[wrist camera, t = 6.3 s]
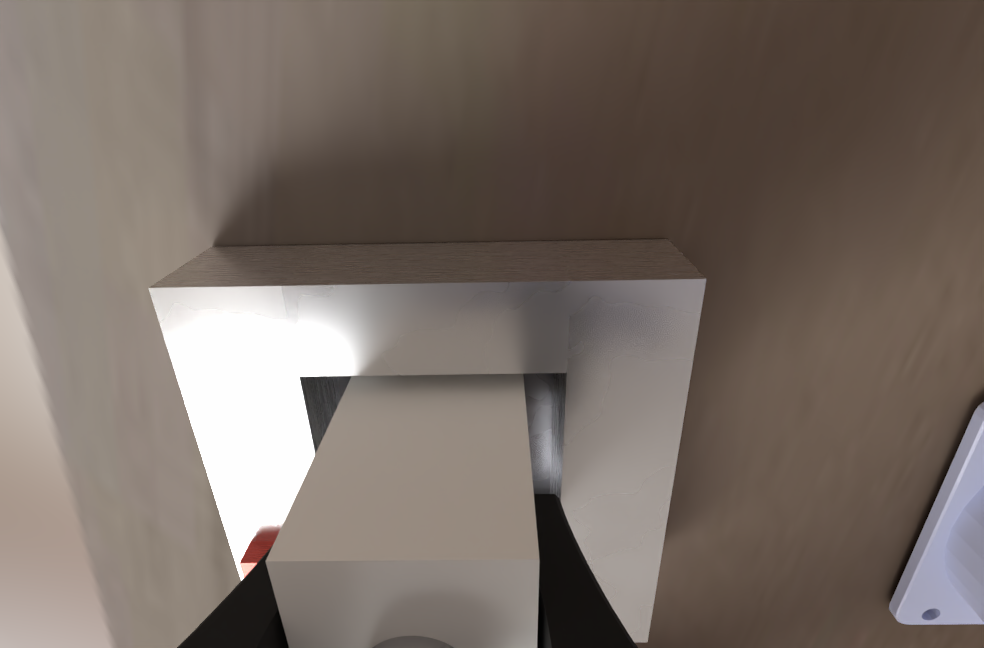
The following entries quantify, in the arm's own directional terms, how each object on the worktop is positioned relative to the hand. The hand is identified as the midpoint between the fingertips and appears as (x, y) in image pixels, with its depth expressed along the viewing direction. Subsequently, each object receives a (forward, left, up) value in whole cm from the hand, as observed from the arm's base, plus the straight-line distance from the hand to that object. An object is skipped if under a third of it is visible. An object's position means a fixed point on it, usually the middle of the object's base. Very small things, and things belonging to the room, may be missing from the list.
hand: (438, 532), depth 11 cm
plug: (0, 0, -2) cm, 2 cm away
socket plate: (0, 0, -3) cm, 3 cm away
